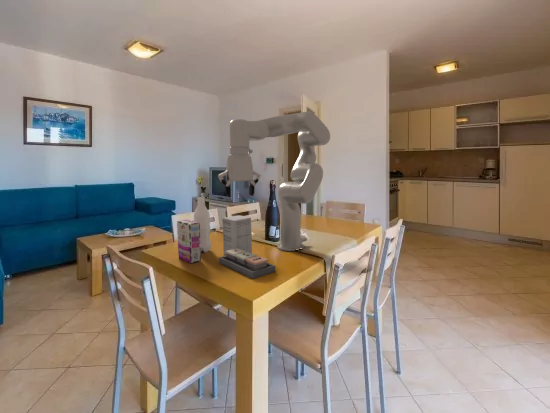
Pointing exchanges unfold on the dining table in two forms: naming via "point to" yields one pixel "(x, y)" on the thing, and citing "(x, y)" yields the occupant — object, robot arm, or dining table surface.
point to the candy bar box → (189, 241)
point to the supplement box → (237, 233)
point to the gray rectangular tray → (246, 268)
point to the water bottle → (203, 224)
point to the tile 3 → (257, 262)
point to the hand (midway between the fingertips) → (240, 196)
